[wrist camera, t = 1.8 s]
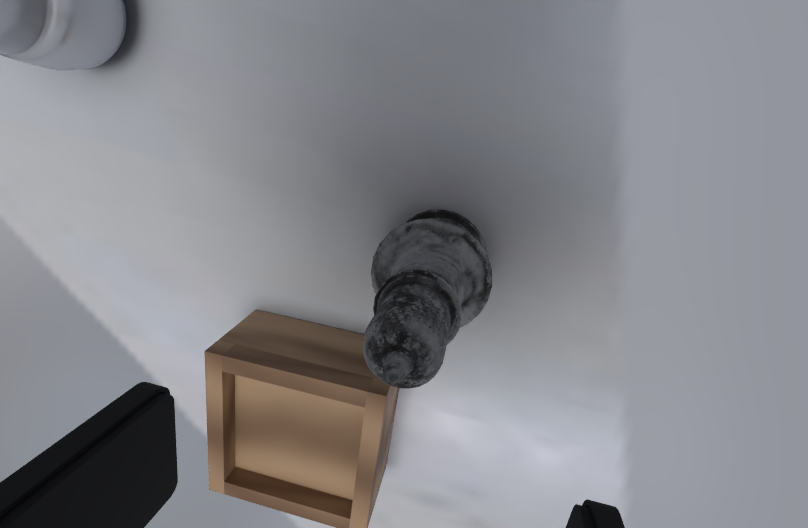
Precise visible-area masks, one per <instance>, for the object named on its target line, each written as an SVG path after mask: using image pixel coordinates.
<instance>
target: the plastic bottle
mask: <svg viewBox="0 0 808 528" xmlns="http://www.w3.org/2000/svg"><path fill="white" fill-rule="evenodd" d="M125 31H126V9H125V5H124V1H123V0H0V55H3V56H5V57H8V58H11V59H14V60H17V61H20V62H24V63H28V64H33V65H37V66H41V67H45V68H49V69H54V70H75V69H90V68H94V67H97V66H100V65H101V64H103V63H104V62H106V61H107V60H108V59H109V58H111V57H112V56H113V55H114V53H115V52H116V51H117V50H118V49H119V47H120V45H121V43H122V41H123V39H124V35H125Z"/></svg>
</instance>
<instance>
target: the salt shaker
mask: <svg viewBox="0 0 808 528" xmlns="http://www.w3.org/2000/svg"><path fill="white" fill-rule="evenodd" d="M371 276H372V285H373V288H374V291H375V293H376V296H375V301H374V307H373V308H374V317H373V319H372V320H371V322H370V324H369V326H368V328H367V330H366V332H365V335H364V341H363V354H364V358H365V361H366V363H367V366H368V367H369V368H370V370H371V371H372V373H373V374H374V375H375V376H376V377H378V378H379V379H380V380H381V381H382V382H384V383H386V384H388V385H390V386H393V387H397V388H414V387H419V386H421V385H423V384H425V383H427V382H429V381H430V380H431V379H432V378H433V377H434V376H435V375H436V373H437V372H438V370H439V369H440V367H441V365H442V363H443V359H444V355H445V350H446V345H447V344H448V343H449V342H451V341H452V340H453V339H454V337H455V336H456V334H457V332H458V331H459V328H460V327H462V326H464V325H466V324H468V323H469V322H471V321H472V320H473V319H474V318H475V317H476V316H477V315H478V314H479V313H480V312H481V311H482V309H483V307H484V306H485V304H486V303H487V301H488V298H489V294H490V291H491V287H492V269H491V266H490V263H489V260H488V256H487V254H486V248H485V244H484V241H483V238H482V236H481V235H480V233H479V231H478V230H477V228H476V227H475V226H474V225H473V224H472V223H471V222H470V221H468V220H467V219H466V218H464V217H462V216H460V215H458V214H456V213H454V212H450V211H445V210H429V211H426V212H423V213H420V214H417V215H416V216H414V217H413V218H411V219H409V220H408V221H407V222H406V223H405V224H402V225H401V226H399V227H398V228H396V229H394V230H393V231H391V232H390V233H389V234H388V235H387V236H386V237H385V239H384V240H383V241H382V242H381V243H380V244H379V247H378V249H377V251H376V253H375V255H374V257H373V263H372V269H371Z"/></svg>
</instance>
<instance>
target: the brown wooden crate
mask: <svg viewBox="0 0 808 528" xmlns="http://www.w3.org/2000/svg"><path fill="white" fill-rule="evenodd" d="M363 341H364V334H359V333H355V332H351V331H346V330H342V329H338V328H333V327H329V326H325V325H320V324H316V323H311V322H307V321H303V320H298V319H294V318H290V317H285V316H281V315H277V314H272V313H268V312H264V311H259V310H255V311H254V312H252V313H251V314H250V315H249V316H248V317H246V318H245V319H244V320H243V321H241V322H240V323H239V324H238V325H236V326H235V327H234V328H233V329H232V330H230V331H229V332H228V333H227V334H225V335H224V336H223V337H222V338H220V339H219V340H218V341H217V342H215V343H214V344H213V345H212V346H211V347H209V348H208V349H207V350H206V351H205V377H206V406H207V435H208V464H209V490H212V491H215V492H219V493H223V494H226V495H229V496H232V497H236V498H239V499H243V500H246V501H249V502H253V503H256V504H259V505H263V506H266V507H269V508H273V509H276V510H279V511H283V512H286V513H289V514H293V515H296V516H300V517H303V518H306V519H310V520H313V521H316V522H320V523H323V524H326V525H330V526H333V527H336V528H368V525H369V521H370V518H371V515H372V511H373V508H374V505H375V501H376V498H377V495H378V492H379V488H380V485H381V482H382V478H383V475H384V472H385V468H386V463H387V457H388V451H389V445H390V439H391V433H392V427H393V421H394V415H395V409H396V403H397V397H398V390H399V388H397V387H393V386H390V385H388V384H386V383H384V382H382V381H381V380H380V379H379V378H378V377H376V376H375V375H374V374H373V373H372V371H371V370H370V368H369V367H368V366H367V363H366V361H365V358H364V354H363Z"/></svg>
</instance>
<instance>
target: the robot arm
mask: <svg viewBox="0 0 808 528" xmlns="http://www.w3.org/2000/svg"><path fill="white" fill-rule="evenodd" d="M175 432H176V431H175V409H174V398H173V397H172V396H171V395H170V391H169V390H168V388H166V387H162V386H159V385H155V384H151V383H147V382H141V383H139V384H137V385H135V386H134V387H133V388H131V389H130V390H129V391H127V392H126V393H125V394H123V395H122V396H120V397H119V398H117V399H116V400H115V401H113V402H112V403H110V404H109V405H108V406H106V407H105V408H103V409H102V410H101V411H99V412H98V413H97V414H95V415H94V416H92V417H91V418H90V419H88V420H87V421H86V422H84V423H83V424H81V425H80V426H78V427H77V428H76V429H74V430H73V431H71V432H70V433H69V434H67V435H66V436H65V437H63V438H62V439H60V440H59V441H58V442H56V443H55V444H53V445H52V446H51V447H49V448H48V449H46V450H45V451H44V452H42V453H41V454H39V455H38V456H37V457H35V458H34V459H33V460H31V461H30V462H28V463H27V464H26V465H24V466H23V467H21V468H20V469H19V470H17V471H16V472H15V473H13V474H12V475H10V476H9V477H7V478H6V479H5V480H3V481H2V482H1V483H0V528H144V527H145V526H146V525H147V524H148V522H149V521H150V520H151V519H152V518H153V517H154V516H155V514H156V513H157V512H158V511H159V510H160V509H161V508H162V506H163V505H164V504H165V503H166V501H168V499H169V498H170V497H171V496H172V494H173V492H174V490H175V488H176V485H177V478H178V477H177V455H176V433H175ZM566 528H625V527H624V524H623V521H622V518H621V515H620V513H619V511H618V509H617V508H616V507H614V506H610V505H606V504H602V503H599V502H595V501H591V500H585V501H584V503H583V505H582V506H581V505H577V504H576V505H575V506H574V507H573V510H572V512H571V515H570V518H569V520H568V523H567V526H566Z"/></svg>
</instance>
